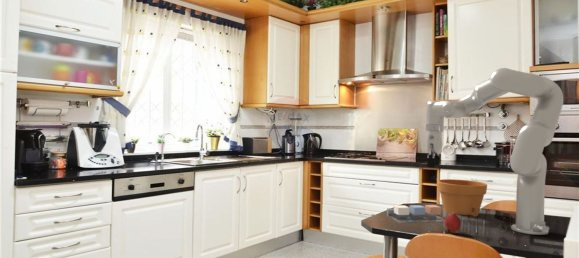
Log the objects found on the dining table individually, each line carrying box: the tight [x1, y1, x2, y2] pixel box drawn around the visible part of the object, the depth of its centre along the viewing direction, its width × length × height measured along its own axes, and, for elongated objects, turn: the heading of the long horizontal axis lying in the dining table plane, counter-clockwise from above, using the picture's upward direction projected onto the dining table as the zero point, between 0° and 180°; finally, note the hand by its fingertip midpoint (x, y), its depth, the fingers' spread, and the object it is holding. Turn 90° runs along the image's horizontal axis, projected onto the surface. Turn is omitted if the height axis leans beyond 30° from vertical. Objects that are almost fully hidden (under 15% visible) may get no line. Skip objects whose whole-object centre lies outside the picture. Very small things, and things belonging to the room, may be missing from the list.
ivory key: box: [393, 205, 410, 215], centre depth 180 cm, size 5×5×3 cm
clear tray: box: [386, 207, 446, 223], centre depth 181 cm, size 13×22×4 cm, turn 98°
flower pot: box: [437, 178, 488, 218], centre depth 197 cm, size 21×21×15 cm
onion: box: [444, 212, 462, 234], centre depth 162 cm, size 6×6×8 cm
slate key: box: [409, 204, 425, 215], centre depth 181 cm, size 5×5×3 cm
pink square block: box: [424, 204, 442, 215], centre depth 182 cm, size 5×5×3 cm
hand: (433, 166), depth 194 cm, fingers open, 9 cm apart
